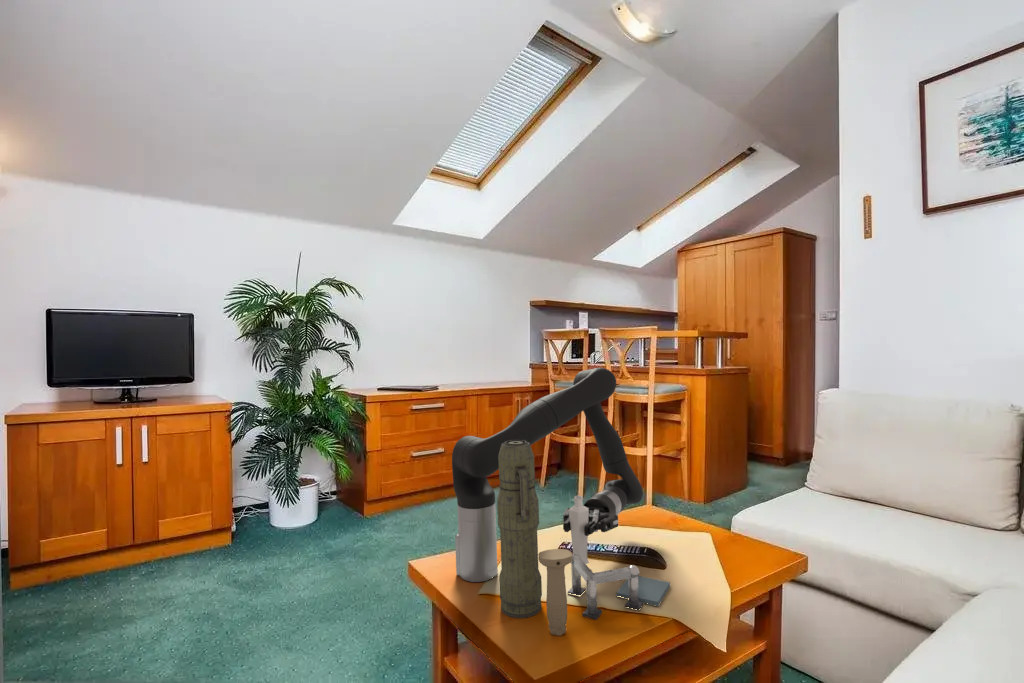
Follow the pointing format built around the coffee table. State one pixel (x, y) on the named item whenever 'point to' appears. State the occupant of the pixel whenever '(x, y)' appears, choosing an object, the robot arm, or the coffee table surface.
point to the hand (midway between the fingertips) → (575, 529)
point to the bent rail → (602, 577)
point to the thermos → (518, 531)
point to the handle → (556, 588)
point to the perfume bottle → (579, 528)
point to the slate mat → (647, 590)
